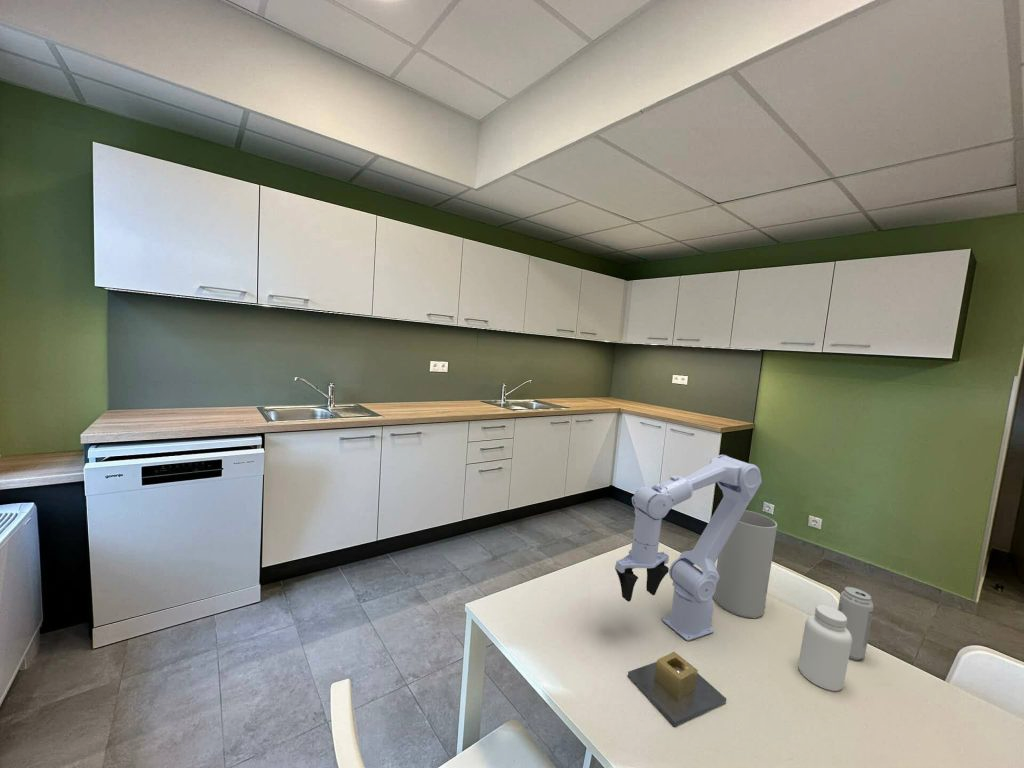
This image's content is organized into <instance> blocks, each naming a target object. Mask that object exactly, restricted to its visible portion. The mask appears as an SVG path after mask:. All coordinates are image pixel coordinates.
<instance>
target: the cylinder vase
mask: <svg viewBox="0 0 1024 768" xmlns="http://www.w3.org/2000/svg"><path fill="white" fill-rule="evenodd" d="M777 529H778V523H777V522H776V521H775V520H774V519H772V518H770V517H768V516H767V515H764V514H762V513H759V512H755V511H751V510H748V509H747V510H746V509H745V511H744V513H743V515H742V516H741V518H740V520H739V522H738V523H737V525H736V527H735V529H734V530H733V532H732V534H731V536H730V537H729V539H728V541H727V543H726V544H725V546H724V548H723V550H722V551H721V553H720V555H719V557H718V558H717V560H716V562H717V563H716V570H717V572H718V574H719V577H720V578H719V580H718V582H717V584H716V589H715V593H714V595H713V597H712V598H713V599H714V600H715V602H716V603H717V604H718V605H719V606H720V607H722V608H723V609H724V610H726V611H728V612H730V613H732V614H734V615H736V616H739V617H743V618H749V619H754V618H755V619H756V618H760V617H761V616H763V614H764V613H765V609H766V601H767V594H768V589H769V588H768V587H769V581H770V577H771V576H770V574H771V568H772V562H773V555H774V548H775V541H776V535H777Z"/></svg>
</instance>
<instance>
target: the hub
mask: <svg viewBox="0 0 1024 768" xmlns="http://www.w3.org/2000/svg"><path fill="white" fill-rule="evenodd" d="M656 662H657V665H656V672H655V679H656V680H657V681H658V682H659V683H660V684H661V685H663V686H664V687H665V688H666V689H667V690H668V691H669V692H670V693H672V694H673V695H674V696H675V697H676V698H677V699H679V698H681V697H683V696H684V695H686V694H688V693H689V692H691V691H693V690H694V689H695V687H696V679H697V673H699V672H698V671H699V670H698V669H697V668H696V667H695V666H694V665H692V664H691V663H690V662H689V661H687V660H685V659H684V658H683V657H682V656H680V655H679V654H678V653H677V652H676V651H672V652H670V653H668V654H666V655H665V656H663V657H660V658H658V659H657V660H656ZM674 667H678V668H680V669H681V670H682V672H680V673H679V672H677V671H676V670H675V669H674Z"/></svg>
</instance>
